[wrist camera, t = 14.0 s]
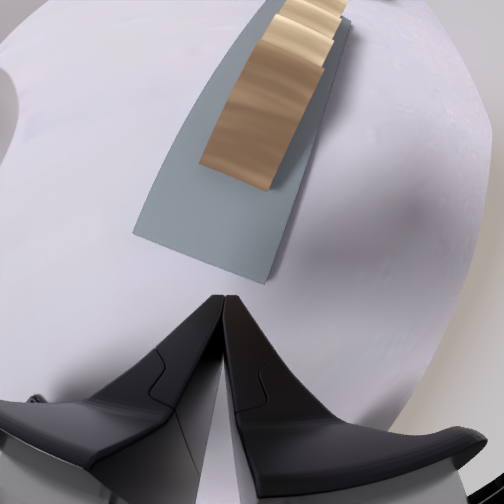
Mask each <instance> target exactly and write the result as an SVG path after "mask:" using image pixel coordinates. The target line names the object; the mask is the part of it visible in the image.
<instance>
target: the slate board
mask: <svg viewBox="0 0 504 504" xmlns="http://www.w3.org/2000/svg"><path fill="white" fill-rule="evenodd" d="M285 2H286V0H266V1H265V3H264V4H263V5H262V6H261V8H260V9H259V10H258V11H257V13H256V14H255V15H254V16H253V18H252V19H251V20H250V22H249V23H248V24H247V26H246V27H245V28H244V30H243V31H242V32H241V34H240V35H239V36H238V38H237V39H236V41H235V42H234V43H233V45H232V46H231V48H230V49H229V51H228V52H227V53H226V55H225V56H224V58H223V59H222V61H221V62H220V64H219V65H218V67H217V68H216V70H215V72H214V73H213V75H212V76H211V78H210V79H209V81H208V83H207V84H206V86H205V87H204V89H203V91H202V92H201V94H200V96H199V97H198V99H197V101H196V102H195V104H194V106H193V108H192V109H191V111H190V113H189V115H188V116H187V118H186V120H185V122H184V124H183V125H182V127H181V129H180V131H179V133H178V135H177V137H176V138H175V140H174V142H173V144H172V146H171V148H170V150H169V152H168V154H167V156H166V158H165V160H164V162H163V164H162V166H161V168H160V170H159V172H158V175H157V177H156V179H155V181H154V183H153V185H152V187H151V190H150V192H149V194H148V196H147V199H146V201H145V203H144V206H143V208H142V210H141V213H140V215H139V218H138V220H137V222H136V225H135V227H134V230H133V232H132V233H133V234H135V235H137V236H140V237H142V238H145V239H147V240H150V241H152V242H155V243H157V244H159V245H162V246H165V247H167V248H170V249H172V250H175V251H177V252H180V253H182V254H185V255H187V256H190V257H192V258H195V259H198V260H200V261H203V262H205V263H208V264H211V265H213V266H216V267H218V268H221V269H224V270H226V271H229V272H232V273H234V274H237V275H240V276H242V277H245V278H248V279H250V280H253V281H256V282H258V283H261V284H265V283H266V280H267V277H268V275H269V272H270V269H271V266H272V263H273V261H274V258H275V255H276V252H277V249H278V247H279V244H280V241H281V238H282V235H283V232H284V230H285V227H286V224H287V221H288V218H289V215H290V212H291V209H292V206H293V204H294V201H295V198H296V195H297V192H298V189H299V186H300V183H301V180H302V177H303V174H304V171H305V168H306V165H307V162H308V159H309V156H310V153H311V150H312V147H313V144H314V141H315V138H316V135H317V132H318V128H319V125H320V122H321V119H322V116H323V113H324V110H325V107H326V103H327V100H328V97H329V94H330V91H331V87H332V84H333V81H334V78H335V74H336V71H337V68H338V65H339V61H340V58H341V55H342V51H343V48H344V45H345V41H346V38H347V34H348V31H349V27H350V24H351V21H350V20H348V19H346V18H345V17H343V16H340V18H341V19H342V20H341V22H340V24H339V26H338V28H337V30H336V32H335V34H334V36H333V38H332V40H334V42H333V44H332V46H331V49H330V51H329V53H328V55H327V57H326V59H325V61H324V63H323V65H322V68H324V69H325V70H324V72H323V74H322V76H321V78H320V80H319V82H318V84H317V87H316V89H315V91H314V93H313V95H312V97H311V99H310V101H309V103H308V105H307V108H306V110H305V112H304V114H303V116H302V118H301V120H300V122H299V125H298V127H297V129H296V131H295V133H294V135H293V137H292V139H291V142H290V144H289V146H288V148H287V150H286V152H285V154H284V157H283V159H282V161H281V163H280V165H279V167H278V169H277V172H276V174H275V176H274V178H273V180H272V182H271V185H270V187H269V189H268V191H267V192H266V191H263V190H261V189H259V188H256V187H254V186H252V185H249V184H247V183H245V182H242V181H240V180H238V179H235V178H233V177H230V176H228V175H226V174H223V173H221V172H218V171H216V170H213V169H211V168H208V167H206V166H203V165H201V164H199V161H200V159H201V157H202V154H203V152H204V150H205V147H206V145H207V143H208V140H209V138H210V136H211V134H212V132H213V129H214V127H215V125H216V123H217V121H218V118H219V116H220V114H221V112H222V110H223V108H224V106H225V104H226V102H227V100H228V98H229V96H230V94H231V92H232V90H233V88H234V86H235V84H236V82H237V80H238V78H239V76H240V74H241V72H242V70H243V68H244V66H245V64H246V62H247V61H248V59H249V57H250V55H251V53H252V51H253V50H254V48H255V46H256V44H257V42H258V41H259V39H262V37H263V35H264V33H265V32H266V30H267V28H268V26H269V25H270V23H271V21H272V20H273V18H274V16H275V15H276V14H278V13H279V12H280V10H281V8H282V7H283V5H284V3H285Z"/></svg>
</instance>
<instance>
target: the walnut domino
mask: <svg viewBox="0 0 504 504" xmlns="http://www.w3.org/2000/svg"><path fill="white" fill-rule="evenodd" d="M324 70H325V69H324V68H322V67H320V66H319V65H317V64H315V63H313V62H311V61H309V60H307V59H305V58H303V57H301V56H298V55H296V54H294V53H292V52H290V51H288V50H285V49H283V48H281V47H279V46H276V45H274V44H271V43H269V42H267V41H264V40H262V39H259V41H258V42H257V44H256V46H255V48H254V50H253V51H252V53H251V55H250V57H249V59H248V61H247V62H246V64H245V66H244V68H243V70H242V72H241V74H240V76H239V78H238V80H237V82H236V84H235V86H234V88H233V90H232V92H231V94H230V96H229V98H228V100H227V102H226V104H225V106H224V108H223V110H222V112H221V114H220V116H219V118H218V121H217V123H216V125H215V127H214V129H213V132H212V134H211V136H210V138H209V140H208V143H207V145H206V147H205V150H204V152H203V154H202V157H201V159H200V161H199V164H201V165H203V166H206V167H208V168H211V169H213V170H216V171H218V172H221V173H223V174H226V175H228V176H230V177H233V178H235V179H238V180H240V181H242V182H245V183H247V184H249V185H252V186H254V187H256V188H259V189H261V190H263V191H266V192H267V191H268V189H269V187H270V185H271V182H272V180H273V178H274V176H275V174H276V172H277V169H278V167H279V165H280V163H281V161H282V159H283V157H284V154H285V152H286V150H287V148H288V146H289V144H290V142H291V139H292V137H293V135H294V133H295V131H296V129H297V127H298V125H299V122H300V120H301V118H302V116H303V114H304V112H305V110H306V108H307V105H308V103H309V101H310V99H311V97H312V95H313V93H314V91H315V89H316V87H317V84H318V82H319V80H320V78H321V76H322V74H323V72H324Z"/></svg>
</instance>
